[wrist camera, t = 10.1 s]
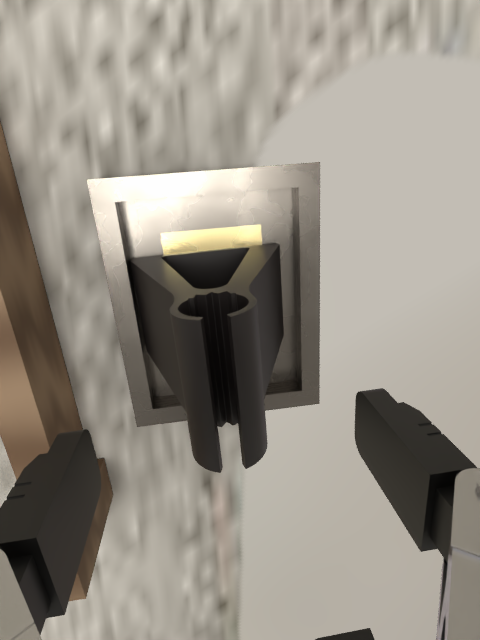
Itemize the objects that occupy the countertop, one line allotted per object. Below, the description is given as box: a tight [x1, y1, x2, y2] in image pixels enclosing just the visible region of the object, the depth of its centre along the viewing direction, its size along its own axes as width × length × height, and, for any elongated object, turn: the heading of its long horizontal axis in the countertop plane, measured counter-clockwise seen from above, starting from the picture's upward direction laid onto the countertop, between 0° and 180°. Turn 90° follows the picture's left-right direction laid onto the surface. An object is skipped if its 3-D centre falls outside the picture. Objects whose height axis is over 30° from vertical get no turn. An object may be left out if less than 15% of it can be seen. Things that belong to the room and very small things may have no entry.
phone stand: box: [130, 243, 284, 473], centre depth 18 cm, size 9×6×12 cm, turn 95°
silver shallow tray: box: [87, 162, 320, 427], centre depth 24 cm, size 15×12×3 cm
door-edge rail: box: [0, 122, 113, 601], centre depth 21 cm, size 28×4×8 cm, turn 4°
